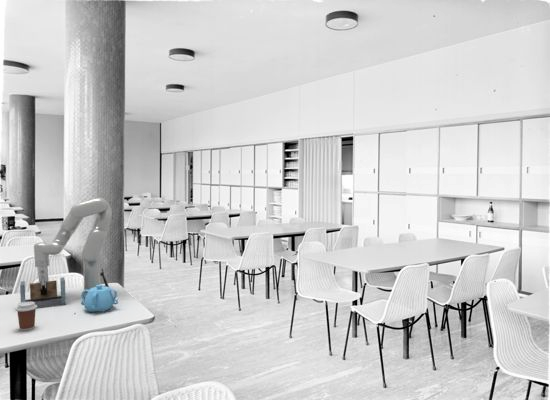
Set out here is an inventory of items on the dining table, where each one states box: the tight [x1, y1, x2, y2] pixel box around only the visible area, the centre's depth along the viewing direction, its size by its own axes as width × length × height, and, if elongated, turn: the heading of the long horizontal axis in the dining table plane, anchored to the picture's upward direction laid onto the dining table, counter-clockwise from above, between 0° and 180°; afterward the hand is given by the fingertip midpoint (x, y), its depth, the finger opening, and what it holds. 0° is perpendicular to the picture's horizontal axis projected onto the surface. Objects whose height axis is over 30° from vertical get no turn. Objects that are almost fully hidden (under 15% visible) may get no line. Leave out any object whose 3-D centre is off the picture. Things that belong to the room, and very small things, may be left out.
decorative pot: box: [80, 284, 119, 313], centre depth 244 cm, size 16×16×14 cm
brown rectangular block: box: [29, 280, 58, 299], centre depth 263 cm, size 14×3×9 cm, turn 118°
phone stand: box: [100, 268, 110, 288], centre depth 290 cm, size 9×6×12 cm, turn 113°
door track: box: [19, 277, 67, 310], centre depth 251 cm, size 22×9×14 cm, turn 118°
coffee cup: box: [15, 302, 38, 331], centre depth 214 cm, size 9×9×12 cm
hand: (43, 294), depth 263 cm, fingers closed on brown rectangular block, 3 cm apart
